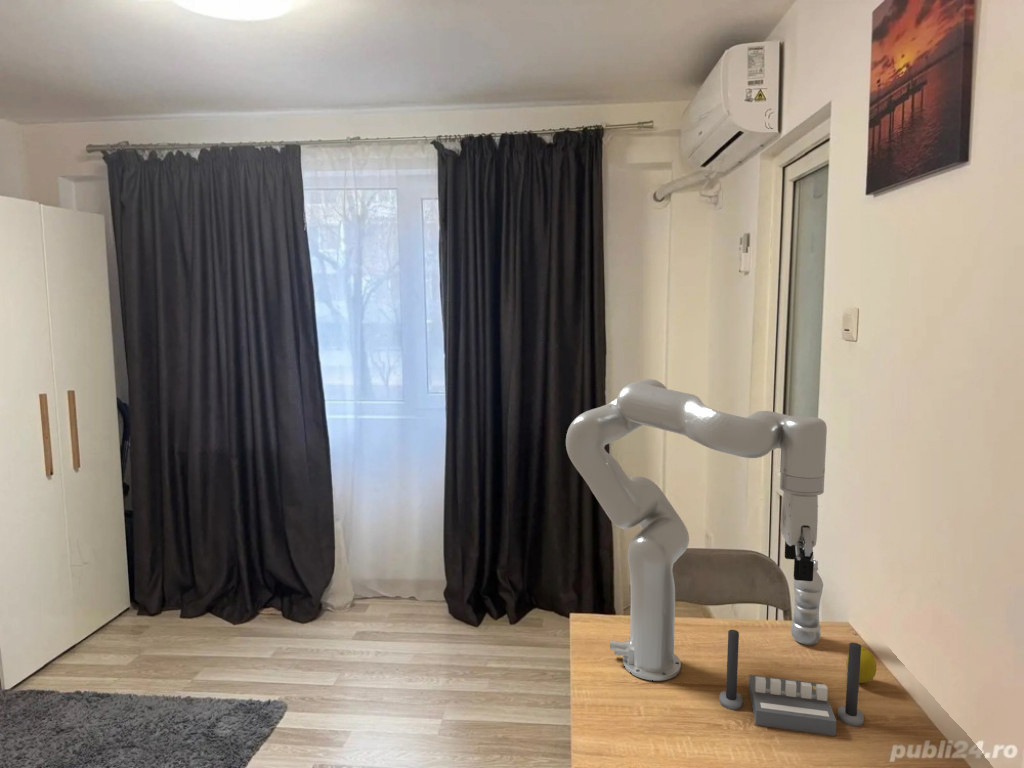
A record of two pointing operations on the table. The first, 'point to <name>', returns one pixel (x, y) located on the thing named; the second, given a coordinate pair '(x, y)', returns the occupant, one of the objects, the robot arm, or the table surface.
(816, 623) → the plastic bottle
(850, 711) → the cord post right
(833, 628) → the table surface
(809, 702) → the breaker panel
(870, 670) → the lemon
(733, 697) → the cord post left
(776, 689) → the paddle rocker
